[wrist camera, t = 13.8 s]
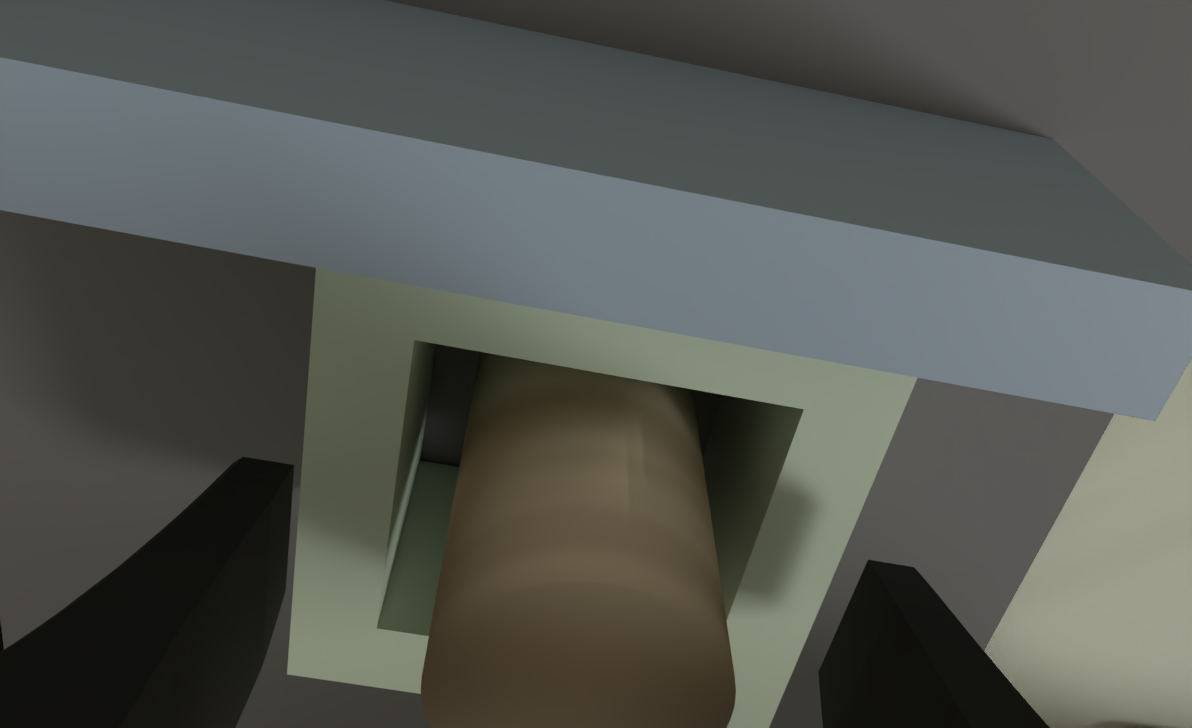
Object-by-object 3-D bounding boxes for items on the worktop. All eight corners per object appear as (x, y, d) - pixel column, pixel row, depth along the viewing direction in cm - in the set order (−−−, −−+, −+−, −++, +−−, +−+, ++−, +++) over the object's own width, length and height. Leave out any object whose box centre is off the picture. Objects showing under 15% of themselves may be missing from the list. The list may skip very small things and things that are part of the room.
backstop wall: (1054, 139, 15) (1227, 297, 11) (1010, 237, 16) (1155, 420, 12) (67, -66, 14) (-171, 23, 10) (73, 52, 15) (-144, 183, 11)
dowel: (660, 460, 18) (691, 815, 12) (466, 428, 18) (404, 778, 12) (709, 290, 17) (775, 608, 11) (497, 251, 16) (442, 557, 10)
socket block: (862, 211, 16) (932, 343, 12) (734, 565, 19) (761, 743, 16) (384, 116, 15) (319, 229, 12) (345, 502, 19) (287, 674, 15)
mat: (1347, -50, 14) (1366, -45, 14) (813, 938, 26) (816, 954, 26) (-106, -387, 13) (-126, -391, 12) (37, 838, 25) (29, 854, 24)
